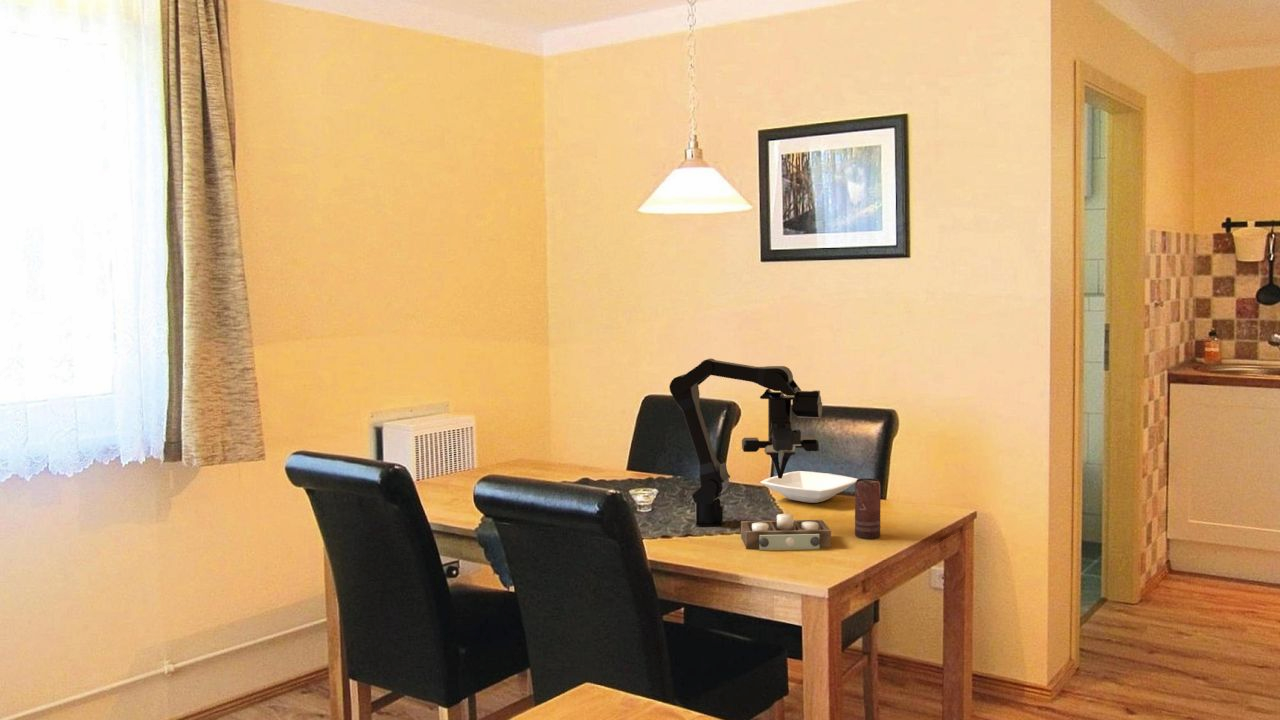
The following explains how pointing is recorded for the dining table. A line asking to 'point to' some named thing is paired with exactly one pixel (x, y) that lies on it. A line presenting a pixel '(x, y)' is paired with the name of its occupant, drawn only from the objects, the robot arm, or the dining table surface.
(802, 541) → the card
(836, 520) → the dining table surface
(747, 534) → the brown compartment tray
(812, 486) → the bowl
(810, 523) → the button right
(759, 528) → the button left
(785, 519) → the button mid
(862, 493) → the can
